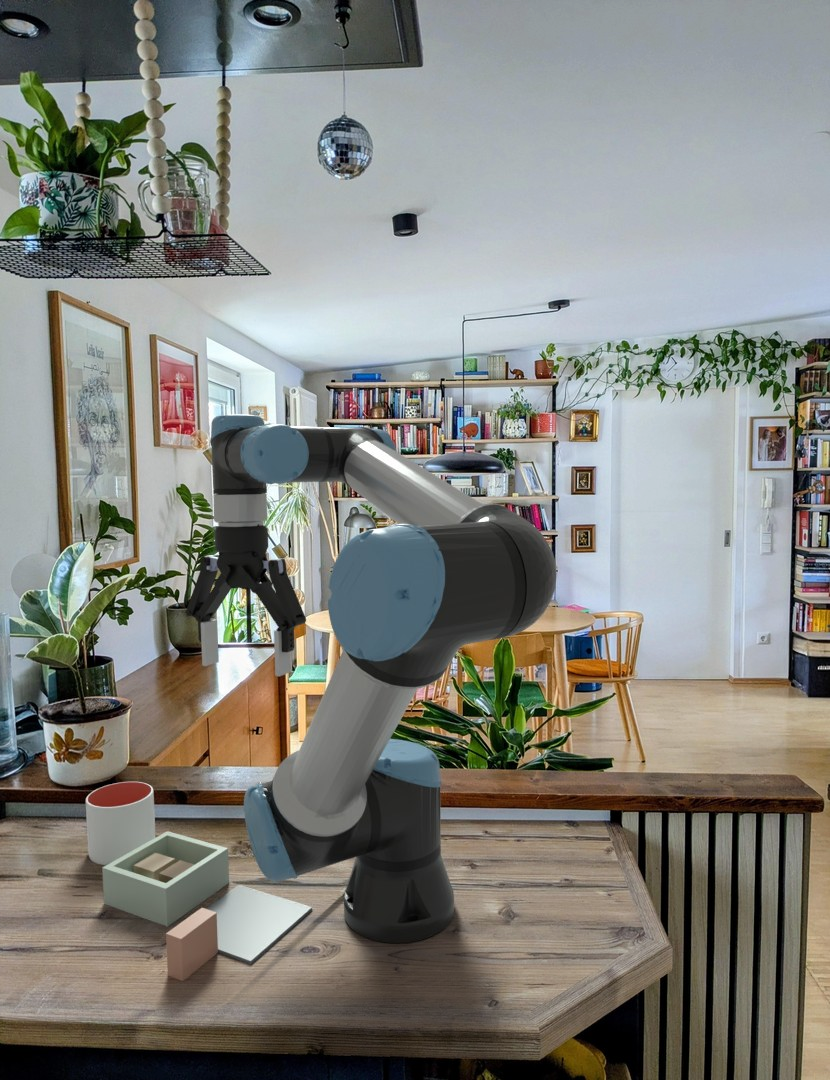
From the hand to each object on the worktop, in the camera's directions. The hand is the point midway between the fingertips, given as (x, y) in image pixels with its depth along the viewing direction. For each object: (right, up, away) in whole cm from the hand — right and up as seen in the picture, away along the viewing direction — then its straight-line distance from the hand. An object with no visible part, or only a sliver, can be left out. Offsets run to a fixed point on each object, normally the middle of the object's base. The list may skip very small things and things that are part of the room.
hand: (245, 669), depth 111 cm
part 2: (-8, -32, -4) cm, 33 cm away
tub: (-10, -32, -3) cm, 34 cm away
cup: (-22, -32, +10) cm, 40 cm away
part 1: (-13, -31, -2) cm, 34 cm away
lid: (+1, -33, -13) cm, 36 cm away
